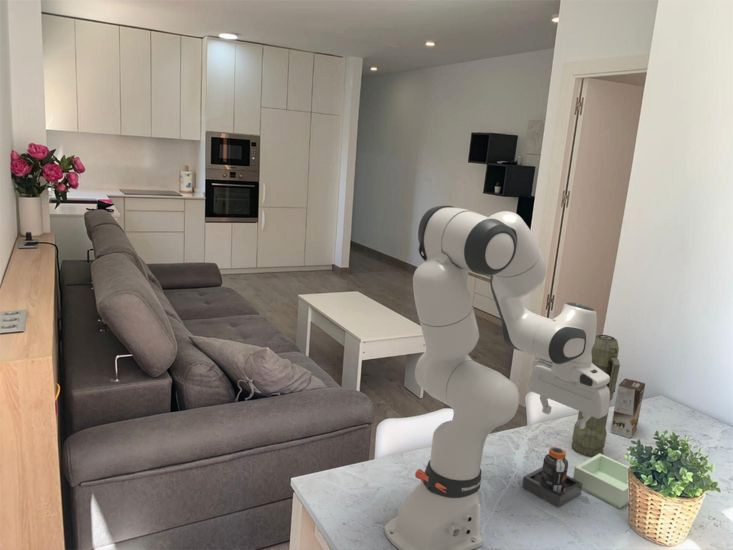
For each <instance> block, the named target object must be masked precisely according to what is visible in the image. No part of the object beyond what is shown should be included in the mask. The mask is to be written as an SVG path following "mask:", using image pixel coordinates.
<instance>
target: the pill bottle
mask: <svg viewBox="0 0 733 550" xmlns="http://www.w3.org/2000/svg"><path fill="white" fill-rule="evenodd" d="M566 455H567V452H566V451H565V449H563V448H561V447H558V446H551V447H550V448H549V450H548V453H547V454H546V455H545V456H544V457H543V463H542V467H543V468H542V474H541V480H540V481H539V483H541V484H543V485H544V486H546V487H548V488H550V489H552V490H554V491H555V492H557V493H560V492H562V491H564V490H565V488H564V487H565V481H566V475H567V474H568V468H569V462H568V459H567V458H566ZM567 476H568V475H567Z"/></svg>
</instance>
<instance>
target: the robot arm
mask: <svg viewBox="0 0 733 550" xmlns="http://www.w3.org/2000/svg"><path fill="white" fill-rule="evenodd" d="M417 240H418V253H419V255H420V257H421V259H423V261H424V262H422V263H421V264H420V265H419V266H418V267H416V269H415V270H414V274H413V276H412V288H413V289H412V290H413V298H414V303H415V305H414V306H415V308H416V312H417V313H416V314H417V317H418V320H419V323H420V328H421V331H422V335H423V340H424V343H425V344H424V345H425V352H423V354H421V355H420V357H419V358H418V360H417V362H416V366H415V368H414V376H415V381H416V384H417V385H418V386H419V387H421V389H423V390H424V391H425V392H426V393H427V394H428V395H429V396H431V397H432V398H433V399H436V400H437V401H439V402H441V403H444V405H446V406H448V407H450V408H452V412H453V415H452V416H453V417H452V420H447V421H444V422H443V423H440V424H439V425H438V426H437V427H436V428H435V429H434V432H433V434H432V442H431V450H430V459H429V461H428V462H427V465H426V466H425V470H424V471H423V469H420V468H417V470H416V471H415V474H414V477H415V478H416V479H419V480H420V482H419V483H418V484H417V485H416V486H415V488H414V489H413V490H412V491H411V492H410V493H409V495H407V497H406V498H405V499H404V500H403V501H402V503H401V504H399V508H398V510H397V513H396V516H395V517H394V518H392V519H391V520H389V522H387V523H385V525H384V528H383V531H384V534H385V536H386V538H387V539H388V540H389V541H390V542H391V544H392V545H393V546H394V547H395V548H397V550H474V549H478V548H480V547H482V546H483V537H482V535H481V511H482V510H481V503H480V501H481V500H480V497H479V490H480V489H481V484H482V478H483V477H482V468H481V465H482V460H483V459H482V457H483V453H484V448H485V445H486V440H487V438H488V436H489V435H490V434H491V432H492V431H493V430H494V429H496V428H498V427H502V426H504V425H505V424H508V423H509V422H510V421H511V420H512V419H513V418H514V417H515V415H516V413H517V412H518V409H519V405H520V391H519V388H518V387H517V385H516V384H515V383H514V382H513V381H512V380H510V379H509V378H508V377H506V376H505V375H503V374H502V373H501V372H499V371H497V370H494V369H493V368H490V367H488V366H485V365H483V364H481V363H479V362H476V361H475V360H474V359H472V358H471V356H470V355H469V354H470V353H471V352H472V351H473V350H474V349H475V347H476V346H477V344H478V341H479V338H480V331H479V327H478V323H477V322H478V321H477V318H476V314H475V313H476V312H475V311H474V310H475V309H474V306H473V301H472V297H471V295H470V291H469V288H468V279H469V278H468V277H469V272H470V271H472V273H475V274H478V275H484V276H490V278H489V279H490V280H489V286H490V290H491V294H492V297H493V299H494V300H493V301H494V303H495V306H496V309H497V311H498V315H499V317H500V321H501V329H502V336H503V340H504V343H505V344H506V345H507V346H508V347H509V348H510V349H513V350H515V351H516V350H517V351H520V352H524V353H526V354H528V355H531V356H534V357H536V358H535V359H533V361H532V368H531V369H532V370H531V373H530V376H529V380H528V387H527V388H528V389H529V391H530V392H532V393H535V394H537V395H539V400H540V403H541V406H542V409H541V410H542V413H543V414H546V415H551V412H552V408H553V407H552V406H551V405H550V404H549V401H548V400H552V401H553V402H556V403H559V404H561V405H564V406H565V407H569V408H571V409H574V410H576V411H578V412H579V411H580V412H582V416H583V417H584V418H583V419H580V420H578V419H577V420H576V422H577V425H576V427H577V428H580V429H584V428H585V424H586V421H587V420H588V419H589V418H590V417H591V416H592V417H595V418H601V417H603V416H605V415H606V414H607V413H608V414H609V411H608V410H610V406H609V403H610V404H611V401H610V391H609V388H608V387H607V386H606V384H608V383H609V381H610V376H609V375H608V374H606V373H605V372H603V371H602V370H600V369H599V368H598V367H596V366H595V365H594V364H593V363H592V354H591V352H592V348H593V346H594V343H595V338H596V336H597V328H598V327H597V326H598V324H597V323H598V317H597V312H596V310H595V309H594V308H592V307H590V306H587V305H583V304H579V303H576V302H566V303H564V304H563V306H562V309H561V311H560V312H561V313H559V314H558V315H557V316H556V317H554V318H549V317H546V316H542V315H539V314H537V313H535V312H533V311H530V310H529V309H527V308H526V307H525V306H524V303H523V299H522V297H523V298H524V297H526V296H528V295H530V294H532V293H534V291H536V290H537V289H538V288H539V287H540V286H541V285H542V284H543V282H544V280H545V278H546V275H547V264H546V260H545V258H544V256H543V255H544V254H543V252H542V250H541V248H540V246H539V244H538V242H537V239H536V238H535V236H534V234H533V232H532V231H531V229H530V227H529V226H528V225H527V223H526V222H525V221H524V219H523V218H522V217H521V216H520V215H519V214H518V213H515V212H512V211H508V210H507V211H506V210H503V211H498V212H495V213H493V214H491V215H490V216H486V215H484V214H481V213H478V212H476V211H474V210H470V209H466V208H461V207H455V206H453V205H438V206H434V207H431V208H429V209H428V210H427V211H426V212H425V213H424V214H423V215H422V218H421V219H420V221H419V224H418V230H417Z"/></svg>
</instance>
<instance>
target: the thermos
mask: <svg viewBox="0 0 733 550" xmlns="http://www.w3.org/2000/svg"><path fill="white" fill-rule="evenodd" d="M619 351H620V349H619V343H618V339H616V338H615V337H613V336H612V335H608V334H607V335H606V334H598V335H597V334H596V338H595V343H594V346H593V348H592V352H591V354H592V363H593V364H594V365H595V366H596V367H598V368H599V369H600V370H602V371H603V372H605V373H606V374H608V375H609V376H610V381H609V383H608V384H606V386H607V387H608V388H609V391H610V403H609V407H610V404H611V401H612V400H613V398H614V394H615V392H616V385H617V381H618V376H619V372H620V366H621V364H620V359H618V356H619ZM609 410H610V409H609ZM609 410H608V413H607V414H606V415H605V416H603V417H601V418H595V417H592V416H591V417H590V418H589V419H588V420H587V421H586V424H585V428H584V429H580V428H577V427H576V425H577V421H576V423H575V424H574V426H573V434H572V443H571V449H572V450H573V451H574V452H576V453H577V454H579V455H581V456H583V457H588V458H592V457H594V456H596V455H598V454H599V453H600V454H602V455H604V454H603V453H604V448H605V446H606V445H605V444H606V440H607V434H608V432H607V428H606V427H607V422H608V416H609ZM583 418H584V417H583V416H582V412H580V411H578V415H577V420H580V419H583Z"/></svg>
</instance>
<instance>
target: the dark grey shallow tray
mask: <svg viewBox="0 0 733 550" xmlns="http://www.w3.org/2000/svg"><path fill="white" fill-rule="evenodd" d="M542 468H543V466H541V467H539V468H538V469H536V470H533V471H532V472H529V473H528V474H526V475H524V476H523V478H522V485H521V488H523V489H524V490H527V491H528V492H530V493H532V494H533V495H535V496H537V497H539V498H540V499H542V500H543V501H545V502H548V503H549V504H551V505H553V506H555V507H557V508H560V507H563V506H564V505H565V504H567V503H569V502H570V501H572V500H573V499H575V498H577V497H578V496H580V495H581V494H582V491H583V490H582V484H583V483H581V482H579V481H577V480H575V479H573V477H571V476H569V475H566V481H565V487H564V491H562V492H560V493H557V492H555V491H554V490H552V489H550V488H548V487H546V486H544V485H543V484H541V483H540V480H541V474H542Z"/></svg>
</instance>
